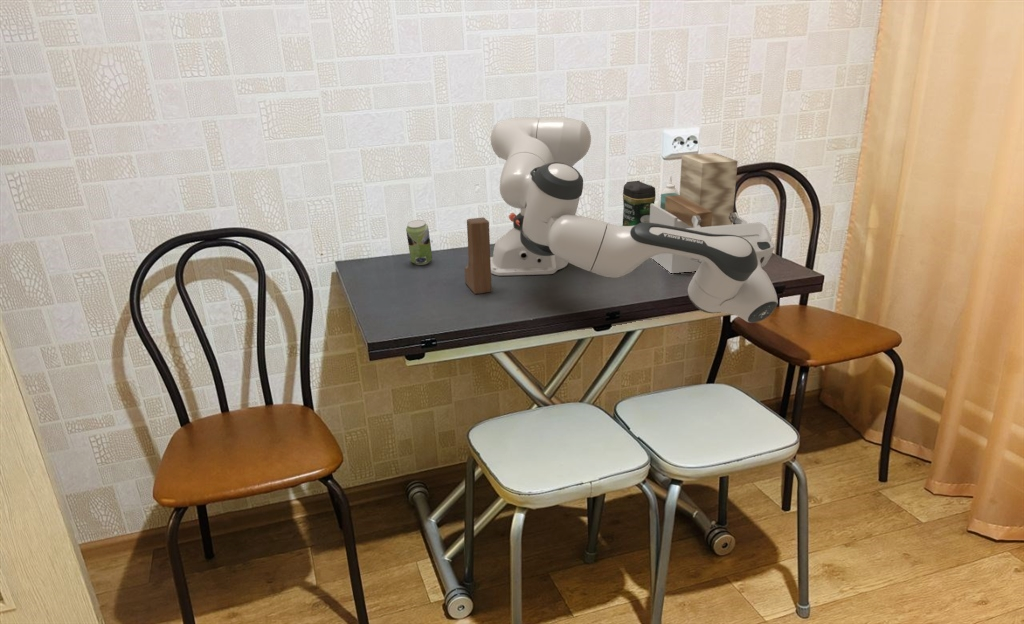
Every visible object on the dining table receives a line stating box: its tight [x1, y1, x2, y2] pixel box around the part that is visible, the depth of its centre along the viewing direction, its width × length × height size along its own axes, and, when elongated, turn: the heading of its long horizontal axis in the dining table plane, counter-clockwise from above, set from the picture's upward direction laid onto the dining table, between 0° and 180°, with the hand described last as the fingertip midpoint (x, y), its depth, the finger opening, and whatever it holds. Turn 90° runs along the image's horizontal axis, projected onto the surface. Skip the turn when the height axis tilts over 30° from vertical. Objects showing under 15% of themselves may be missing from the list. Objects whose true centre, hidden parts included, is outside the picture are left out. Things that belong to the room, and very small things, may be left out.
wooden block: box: [464, 217, 492, 295], centre depth 184 cm, size 9×4×18 cm, turn 18°
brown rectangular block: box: [660, 193, 712, 227], centre depth 191 cm, size 4×22×4 cm, turn 12°
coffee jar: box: [621, 180, 656, 226], centre depth 215 cm, size 10×8×19 cm
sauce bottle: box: [656, 176, 680, 207], centre depth 225 cm, size 8×8×18 cm
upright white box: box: [650, 203, 701, 274], centre depth 199 cm, size 8×16×15 cm, turn 12°
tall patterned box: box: [679, 152, 739, 226], centre depth 208 cm, size 10×13×26 cm
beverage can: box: [405, 219, 433, 266], centre depth 205 cm, size 6×7×12 cm
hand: (713, 216), depth 176 cm, fingers open, 8 cm apart
